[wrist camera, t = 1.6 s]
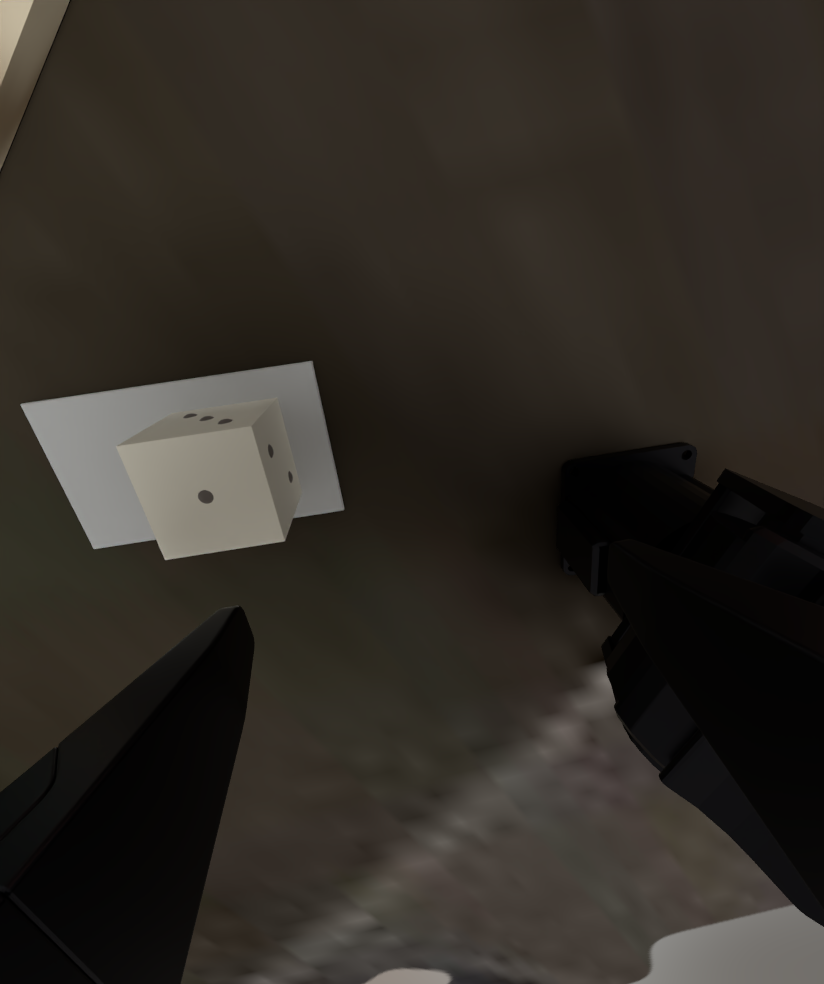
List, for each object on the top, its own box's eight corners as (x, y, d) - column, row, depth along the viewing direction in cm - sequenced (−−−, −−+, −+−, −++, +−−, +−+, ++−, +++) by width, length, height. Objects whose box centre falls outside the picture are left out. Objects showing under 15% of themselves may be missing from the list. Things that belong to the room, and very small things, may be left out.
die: (279, 395, 19) (252, 423, 14) (304, 492, 21) (287, 542, 16) (171, 411, 19) (112, 444, 14) (206, 507, 20) (163, 561, 16)
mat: (312, 360, 19) (311, 361, 18) (344, 507, 21) (344, 510, 21) (25, 402, 18) (20, 404, 18) (97, 545, 21) (93, 549, 21)
